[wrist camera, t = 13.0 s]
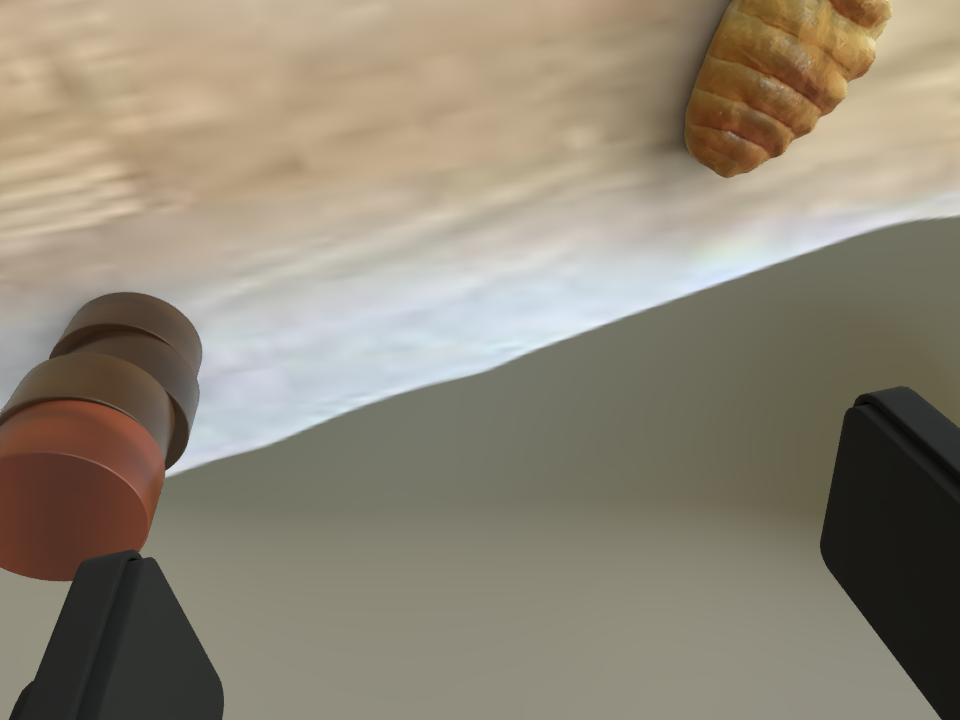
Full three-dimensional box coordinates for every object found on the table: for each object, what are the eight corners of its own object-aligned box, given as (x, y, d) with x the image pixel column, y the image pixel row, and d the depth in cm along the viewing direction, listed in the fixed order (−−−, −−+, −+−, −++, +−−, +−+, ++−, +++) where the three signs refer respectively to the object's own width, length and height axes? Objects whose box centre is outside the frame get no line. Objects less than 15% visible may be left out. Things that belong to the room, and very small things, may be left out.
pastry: (746, 189, 36) (786, 216, 33) (641, 128, 33) (673, 150, 30) (876, 5, 32) (935, 15, 29) (769, -80, 30) (821, -79, 27)
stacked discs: (59, 392, 35) (-15, 523, 28) (64, 273, 32) (-17, 382, 25) (201, 413, 37) (168, 539, 30) (218, 301, 34) (186, 411, 27)
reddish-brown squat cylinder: (-10, 514, 28) (-44, 575, 25) (-12, 386, 25) (-50, 440, 22) (157, 530, 29) (141, 588, 27) (173, 413, 27) (157, 465, 24)
